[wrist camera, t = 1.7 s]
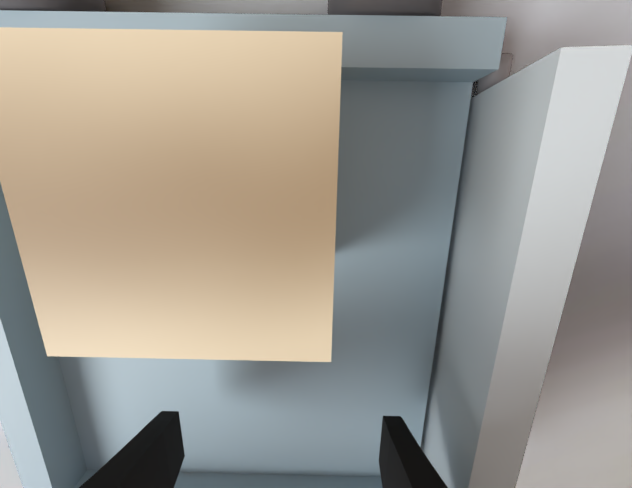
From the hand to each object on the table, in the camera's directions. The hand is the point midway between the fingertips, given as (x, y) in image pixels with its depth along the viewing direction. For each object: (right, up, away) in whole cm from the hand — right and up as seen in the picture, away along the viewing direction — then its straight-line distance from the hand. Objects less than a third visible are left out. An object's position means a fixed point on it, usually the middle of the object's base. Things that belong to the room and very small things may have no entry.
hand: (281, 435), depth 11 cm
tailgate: (+7, +4, +2) cm, 8 cm away
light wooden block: (-1, +9, 0) cm, 9 cm away
